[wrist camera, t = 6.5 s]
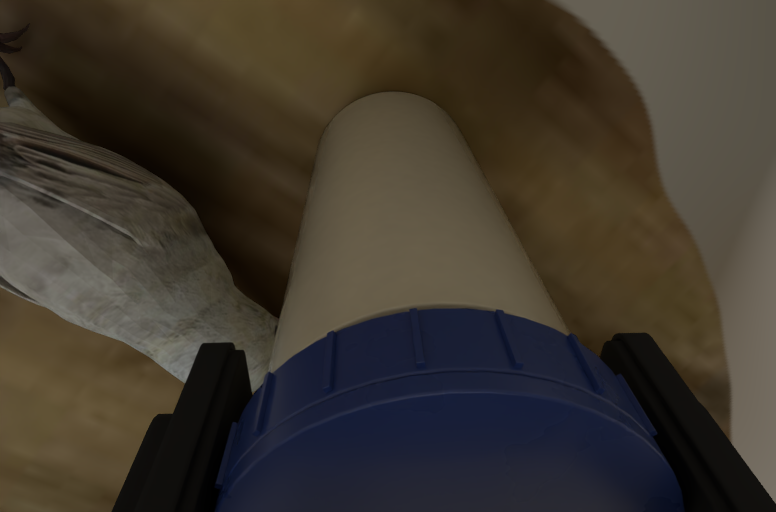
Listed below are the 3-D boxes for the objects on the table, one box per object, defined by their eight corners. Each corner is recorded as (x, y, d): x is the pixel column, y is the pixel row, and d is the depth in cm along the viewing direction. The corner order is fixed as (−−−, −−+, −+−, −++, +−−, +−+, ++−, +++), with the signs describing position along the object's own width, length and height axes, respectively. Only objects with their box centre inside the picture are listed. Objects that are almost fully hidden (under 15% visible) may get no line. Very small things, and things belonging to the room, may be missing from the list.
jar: (404, 260, 24) (458, 653, 11) (285, 183, 22) (167, 550, 9) (499, 153, 22) (721, 482, 8) (376, 56, 20) (409, 285, 6)
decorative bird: (243, 355, 26) (204, 487, 20) (-74, 93, 20) (-288, 164, 13) (326, 297, 25) (314, 420, 18) (14, -8, 18) (-178, 17, 12)
